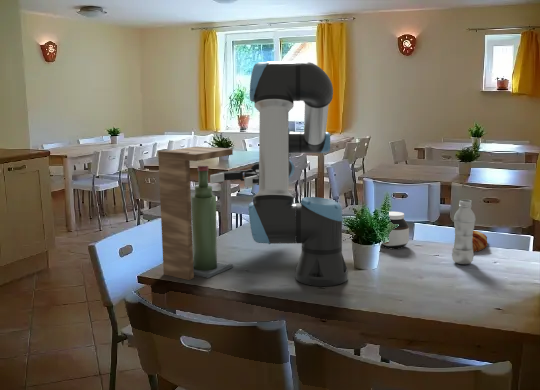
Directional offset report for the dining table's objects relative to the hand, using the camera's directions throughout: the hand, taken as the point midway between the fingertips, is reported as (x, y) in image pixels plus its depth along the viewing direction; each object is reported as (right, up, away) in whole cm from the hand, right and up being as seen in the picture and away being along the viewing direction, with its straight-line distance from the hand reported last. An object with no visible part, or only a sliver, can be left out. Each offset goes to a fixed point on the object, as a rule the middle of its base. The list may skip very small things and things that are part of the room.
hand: (227, 180), depth 189 cm
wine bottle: (-7, -27, -6) cm, 28 cm away
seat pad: (-7, -27, -6) cm, 29 cm away
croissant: (+83, -23, +14) cm, 87 cm away
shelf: (-8, -28, -8) cm, 30 cm away
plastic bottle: (+73, -26, -4) cm, 78 cm away
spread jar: (+54, -23, +16) cm, 61 cm away
